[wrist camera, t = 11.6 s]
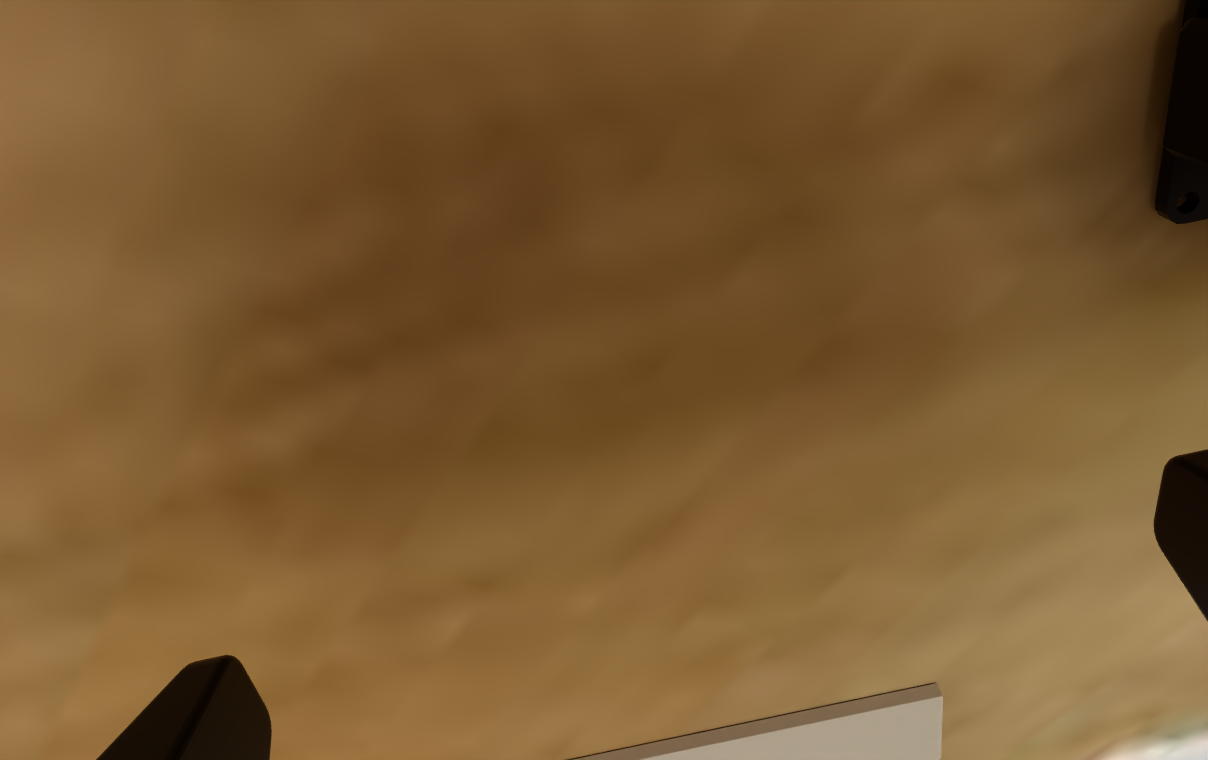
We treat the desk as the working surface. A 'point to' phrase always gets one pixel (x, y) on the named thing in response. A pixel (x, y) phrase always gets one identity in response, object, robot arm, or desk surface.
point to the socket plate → (817, 734)
